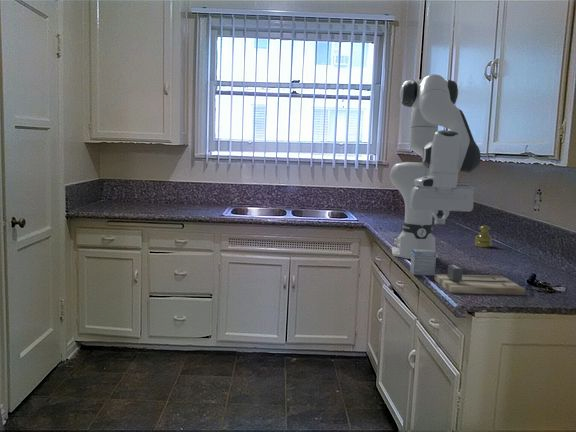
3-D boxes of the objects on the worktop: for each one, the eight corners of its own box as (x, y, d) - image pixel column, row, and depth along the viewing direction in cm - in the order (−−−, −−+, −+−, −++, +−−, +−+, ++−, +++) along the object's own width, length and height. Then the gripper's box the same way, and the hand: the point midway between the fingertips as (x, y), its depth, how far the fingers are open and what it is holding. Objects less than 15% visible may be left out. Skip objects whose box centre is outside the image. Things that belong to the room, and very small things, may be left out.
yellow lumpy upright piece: (492, 248, 240) (494, 227, 238) (475, 247, 241) (477, 226, 240) (489, 245, 247) (491, 224, 246) (473, 244, 248) (475, 223, 247)
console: (433, 279, 178) (434, 273, 177) (501, 281, 179) (502, 275, 179) (450, 292, 162) (450, 286, 162) (524, 294, 163) (525, 288, 163)
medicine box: (431, 273, 187) (433, 249, 186) (434, 276, 182) (437, 252, 181) (409, 272, 187) (411, 248, 185) (413, 275, 182) (414, 251, 181)
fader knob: (447, 276, 172) (448, 264, 171) (456, 276, 172) (457, 265, 172) (452, 280, 167) (453, 268, 166) (461, 280, 167) (462, 268, 167)
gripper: (471, 182, 168) (467, 223, 170) (409, 179, 167) (406, 221, 169) (478, 183, 162) (474, 226, 164) (415, 181, 161) (411, 224, 163)
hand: (439, 224), depth 167 cm, fingers closed
